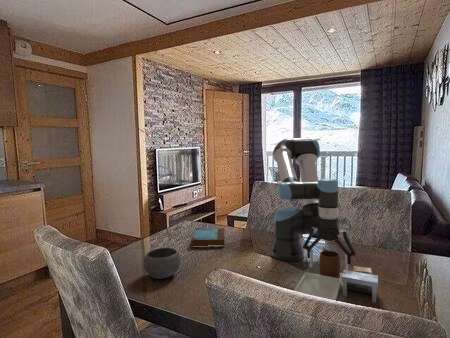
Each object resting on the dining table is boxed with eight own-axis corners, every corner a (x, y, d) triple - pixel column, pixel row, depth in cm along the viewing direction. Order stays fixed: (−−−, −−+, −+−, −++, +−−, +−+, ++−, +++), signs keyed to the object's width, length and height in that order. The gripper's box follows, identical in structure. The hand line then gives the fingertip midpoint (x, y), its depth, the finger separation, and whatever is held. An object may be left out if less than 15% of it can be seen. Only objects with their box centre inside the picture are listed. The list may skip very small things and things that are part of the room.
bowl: (163, 287, 108) (162, 262, 108) (137, 279, 116) (135, 255, 116) (188, 272, 121) (187, 249, 120) (162, 266, 129) (161, 244, 128)
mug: (315, 267, 122) (315, 246, 122) (333, 268, 122) (333, 246, 121) (322, 280, 110) (322, 257, 110) (342, 281, 110) (342, 257, 109)
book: (224, 248, 151) (224, 239, 151) (191, 249, 151) (191, 240, 151) (224, 235, 174) (224, 227, 174) (196, 236, 174) (195, 228, 174)
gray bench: (341, 295, 99) (341, 276, 98) (344, 285, 106) (344, 267, 106) (377, 303, 93) (377, 282, 93) (378, 291, 101) (378, 272, 100)
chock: (353, 286, 106) (353, 270, 105) (353, 281, 109) (353, 266, 109) (371, 288, 103) (371, 272, 103) (370, 283, 107) (370, 268, 107)
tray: (293, 296, 99) (293, 290, 99) (305, 276, 114) (305, 272, 114) (335, 305, 93) (335, 299, 93) (341, 283, 107) (341, 278, 107)
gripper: (295, 216, 117) (295, 266, 118) (361, 222, 105) (361, 278, 106) (299, 212, 124) (300, 260, 125) (363, 217, 112) (363, 270, 113)
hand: (328, 268), depth 116 cm, fingers open, 13 cm apart
